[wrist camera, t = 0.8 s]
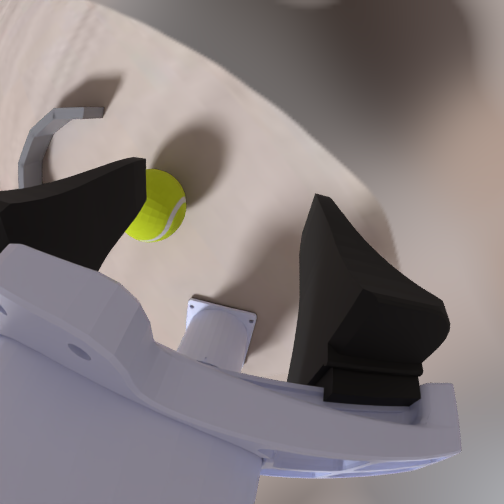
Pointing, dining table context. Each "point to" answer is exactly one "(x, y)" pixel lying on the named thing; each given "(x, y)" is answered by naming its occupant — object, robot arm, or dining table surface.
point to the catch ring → (47, 141)
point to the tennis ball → (159, 208)
